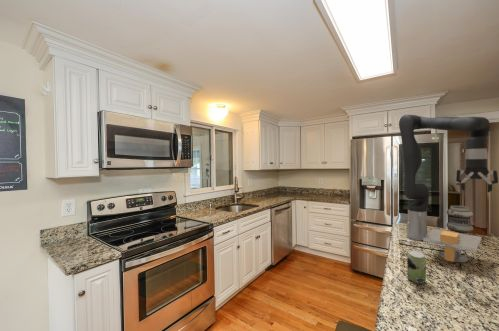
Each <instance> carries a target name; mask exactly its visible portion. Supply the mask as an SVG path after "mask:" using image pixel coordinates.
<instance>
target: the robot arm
mask: <svg viewBox="0 0 499 331" xmlns="http://www.w3.org/2000/svg"><path fill="white" fill-rule="evenodd" d="M398 127H399V132H400V133H399V134H400V137H401V146H402V158H403V159H402V160H403V170H404V171H403V172H404V173H403V175H404V176H403V177H404V178H403V179H404V180H403V192H404V196H405V197H406V198H407V199H408V200H413V202H411V203H409V204H407V222H406V238H407V237H408V239H410V238H411V239H410V240H413V239H415V240H414V241H417V240H423V238H424V237H425V236H426V235H427V234H428V211H427V210H428V208H429V201H430V200H429V199H430V191H429V188H428V186H427V185H426V184H424V183H416V177H417V174H418V171H419V169H420V167H421V165H422V164H423V156H422V155H423V154H422V149H421V146H420V145H419V144H418V142H417V140H416V137H415V131H416V130H423V129H424V130H425V129H427V130H428V129H430V130H431V129H433V130H438V131H439V130H440V131H461V132H470V136H469V137H467V139H466V142H465V148H466V149H465V169H464V170H463V169H457V170H456V176H455V178H456V180H455V181H456V182H458V183H460V188H461V190H462V191H464V192H465V191H466V189H467V188H466V182H467V180H469V179H471V180H484V181H485V182H486V183H487V193H491V192H492V191H493V185H494V184H498V182H499V177H498V176H499V175H498V170H496V169H495V170H489V169H488V150H487V146H488V145H487V143H488V142H487V139H488V135H489V132H490V127H491V123H490V121H489V119H488V118H487V117H485V116H484V117H483V116H462V117H461V116H439V117H426V116H425V117H424V116H420V115H416V114H404V115H402V116H401V117H400V119H399V121H398ZM463 173H464V174H465V175H466V177H464V178H463V179H461V175H463ZM489 173H490V175H491V176H493V180H491V179H490V178H489V177H488V176H487V175H489Z"/></svg>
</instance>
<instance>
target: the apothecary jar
mask: <svg viewBox="0 0 499 331" xmlns="http://www.w3.org/2000/svg"><path fill="white" fill-rule="evenodd" d="M446 214H447V215H448V217H449V219H448V222H447V223H446V228H448V229H449V231H454V232H458V233H462V234H467V233H471V232H473V231H474V227H473V225H472V224H471V218H472V217H473V216H474V213H473V212H472V211H471V209H470V207H468V206H465V205H450V207H449V209H447V210H446Z"/></svg>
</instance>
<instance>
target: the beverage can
mask: <svg viewBox="0 0 499 331" xmlns="http://www.w3.org/2000/svg"><path fill="white" fill-rule="evenodd" d="M406 256H407V258H406V261H407V262H406V263H407V267H406V268H407V270H406V275H407V279H409V280H410V281H411V280H412V281H411V282H413V281H414V282H413V283H415V282H417V283H416V284H423V283H425V282H426V281H427V280H426V279H427V257H426V256H425V254H424V253H423V252H421V251H419V250H410V251H409V252H408V254H407V255H406Z"/></svg>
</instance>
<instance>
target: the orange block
mask: <svg viewBox="0 0 499 331" xmlns="http://www.w3.org/2000/svg"><path fill="white" fill-rule="evenodd" d="M448 231H449V230H444V231H443V232H442V233H441V234H440V241H444V242H449V243H454V244H457V243H458V241H459V233H454V232H455V231H454V232H448ZM444 252H445V259H444V260H445V261H447V262H451V263H455V262H454V260H455V247H451V246H446V245H444Z"/></svg>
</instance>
